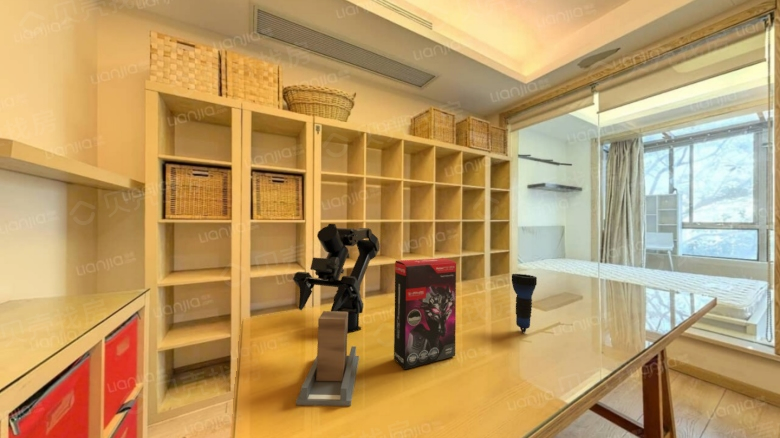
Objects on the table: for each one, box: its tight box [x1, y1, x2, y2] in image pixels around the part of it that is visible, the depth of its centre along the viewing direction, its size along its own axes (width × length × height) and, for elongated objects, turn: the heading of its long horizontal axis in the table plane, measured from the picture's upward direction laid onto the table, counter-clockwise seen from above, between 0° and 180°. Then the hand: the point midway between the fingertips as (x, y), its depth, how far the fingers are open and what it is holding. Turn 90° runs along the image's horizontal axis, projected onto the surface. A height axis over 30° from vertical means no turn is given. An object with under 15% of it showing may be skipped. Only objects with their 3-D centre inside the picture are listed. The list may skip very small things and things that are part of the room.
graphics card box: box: [393, 257, 457, 370], centre depth 74 cm, size 17×7×27 cm, turn 117°
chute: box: [295, 345, 360, 407], centre depth 63 cm, size 18×11×4 cm, turn 1°
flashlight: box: [511, 273, 538, 334], centre depth 94 cm, size 8×8×20 cm
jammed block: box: [316, 310, 348, 381], centre depth 62 cm, size 5×6×14 cm
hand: (315, 311), depth 70 cm, fingers open, 9 cm apart
